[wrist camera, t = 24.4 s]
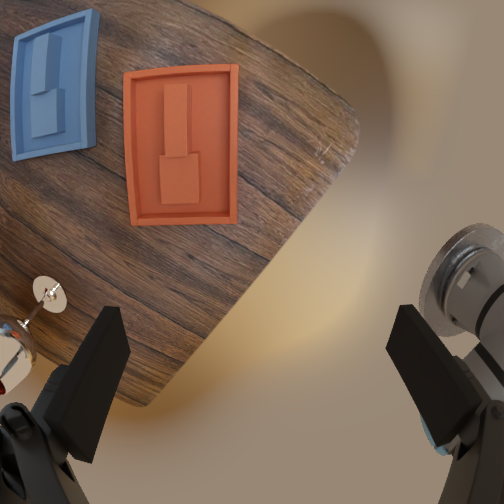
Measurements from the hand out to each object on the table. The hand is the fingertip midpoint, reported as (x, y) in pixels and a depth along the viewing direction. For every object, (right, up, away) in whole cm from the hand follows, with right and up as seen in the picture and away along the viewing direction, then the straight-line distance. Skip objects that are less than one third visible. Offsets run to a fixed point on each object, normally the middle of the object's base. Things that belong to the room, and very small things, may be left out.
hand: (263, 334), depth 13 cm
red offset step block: (-8, +15, +16) cm, 24 cm away
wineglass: (-30, -2, +24) cm, 38 cm away
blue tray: (-24, +23, +12) cm, 35 cm away
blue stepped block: (-24, +23, +12) cm, 35 cm away
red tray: (-8, +15, +17) cm, 24 cm away
